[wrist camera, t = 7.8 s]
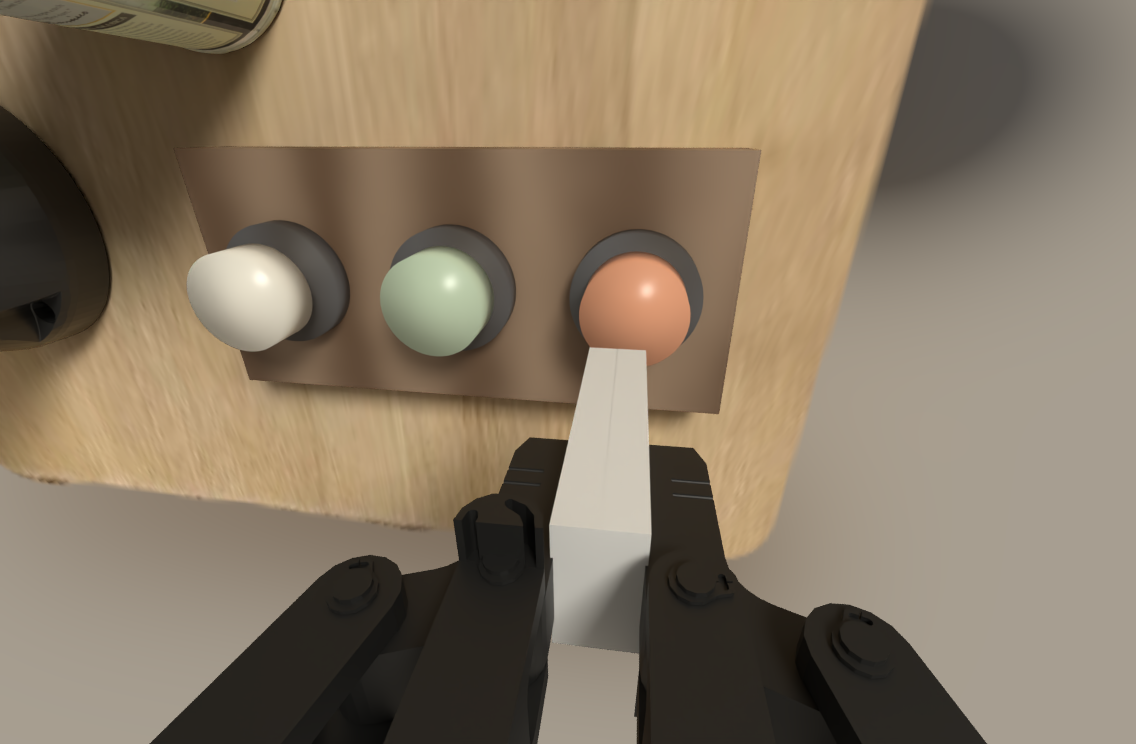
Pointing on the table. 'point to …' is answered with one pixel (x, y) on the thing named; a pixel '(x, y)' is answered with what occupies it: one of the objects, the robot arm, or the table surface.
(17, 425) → the table surface
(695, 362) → the button panel
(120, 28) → the coffee can
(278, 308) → the button cream
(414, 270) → the button green
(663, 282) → the button terracotta
